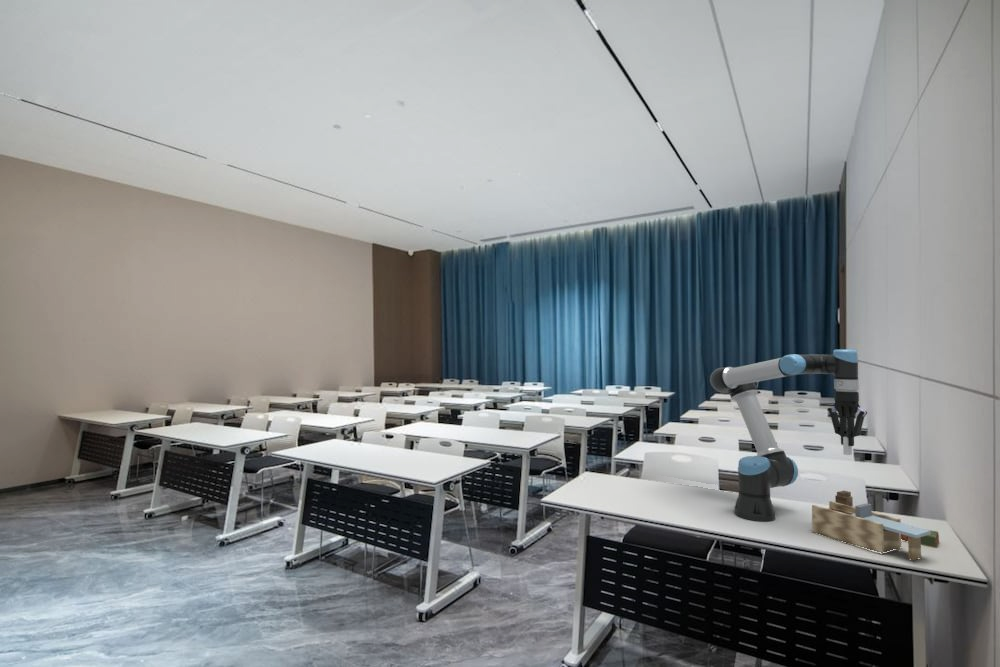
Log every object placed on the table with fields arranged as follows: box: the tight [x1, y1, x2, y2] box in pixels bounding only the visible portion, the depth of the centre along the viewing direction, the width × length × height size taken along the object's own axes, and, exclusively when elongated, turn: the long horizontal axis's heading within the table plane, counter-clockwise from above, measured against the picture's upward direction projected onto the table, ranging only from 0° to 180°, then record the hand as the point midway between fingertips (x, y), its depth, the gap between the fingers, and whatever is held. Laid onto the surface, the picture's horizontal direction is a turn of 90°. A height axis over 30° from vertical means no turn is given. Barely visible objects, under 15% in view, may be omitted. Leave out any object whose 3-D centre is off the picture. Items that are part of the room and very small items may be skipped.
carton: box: [901, 528, 940, 549], centre depth 181 cm, size 8×16×4 cm, turn 44°
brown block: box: [834, 490, 854, 507], centre depth 193 cm, size 5×4×14 cm
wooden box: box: [811, 500, 922, 561], centre depth 177 cm, size 30×12×10 cm, turn 27°
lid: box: [851, 502, 931, 538], centre depth 171 cm, size 21×9×5 cm, turn 27°
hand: (847, 454), depth 186 cm, fingers closed
